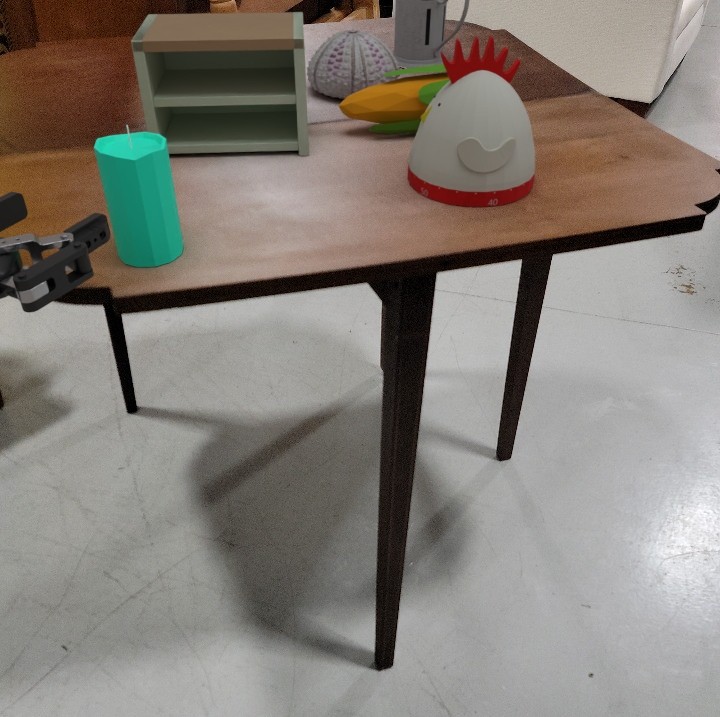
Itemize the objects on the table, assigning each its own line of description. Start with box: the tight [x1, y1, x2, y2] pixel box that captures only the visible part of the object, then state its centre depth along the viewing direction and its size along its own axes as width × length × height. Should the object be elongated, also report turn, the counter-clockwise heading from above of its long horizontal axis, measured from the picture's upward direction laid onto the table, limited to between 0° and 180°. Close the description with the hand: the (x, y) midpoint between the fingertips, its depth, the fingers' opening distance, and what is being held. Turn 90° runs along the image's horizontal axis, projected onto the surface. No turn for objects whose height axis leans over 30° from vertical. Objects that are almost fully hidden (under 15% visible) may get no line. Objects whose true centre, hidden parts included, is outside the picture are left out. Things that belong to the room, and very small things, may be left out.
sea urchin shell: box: [306, 29, 401, 100], centre depth 104 cm, size 13×14×8 cm
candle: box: [93, 124, 184, 268], centre depth 65 cm, size 6×6×12 cm
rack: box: [130, 11, 310, 157], centre depth 87 cm, size 18×12×13 cm, turn 94°
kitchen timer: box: [407, 35, 536, 208], centre depth 77 cm, size 14×14×15 cm
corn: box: [338, 64, 450, 135], centre depth 92 cm, size 7×8×20 cm
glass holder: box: [393, 0, 470, 68], centre depth 111 cm, size 9×14×15 cm, turn 39°
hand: (62, 213), depth 57 cm, fingers open, 8 cm apart
